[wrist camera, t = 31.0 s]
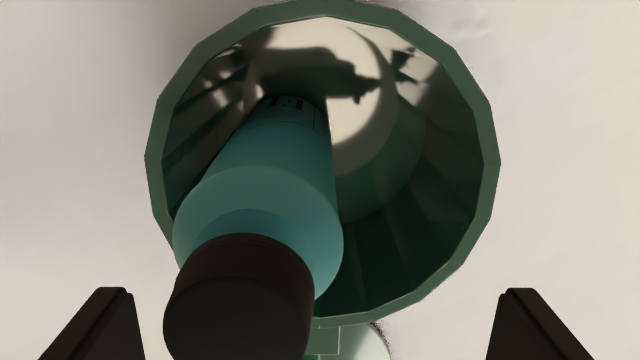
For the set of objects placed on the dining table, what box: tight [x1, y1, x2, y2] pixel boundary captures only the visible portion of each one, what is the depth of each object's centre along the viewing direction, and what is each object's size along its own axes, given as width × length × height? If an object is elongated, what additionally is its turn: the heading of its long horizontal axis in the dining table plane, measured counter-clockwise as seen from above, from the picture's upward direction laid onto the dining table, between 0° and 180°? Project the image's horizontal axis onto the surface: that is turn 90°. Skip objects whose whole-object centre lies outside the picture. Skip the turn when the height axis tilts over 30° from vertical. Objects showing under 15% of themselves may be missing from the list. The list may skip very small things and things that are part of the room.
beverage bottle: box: [163, 94, 344, 360], centre depth 19 cm, size 6×7×20 cm
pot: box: [144, 0, 501, 355], centre depth 24 cm, size 17×22×11 cm
